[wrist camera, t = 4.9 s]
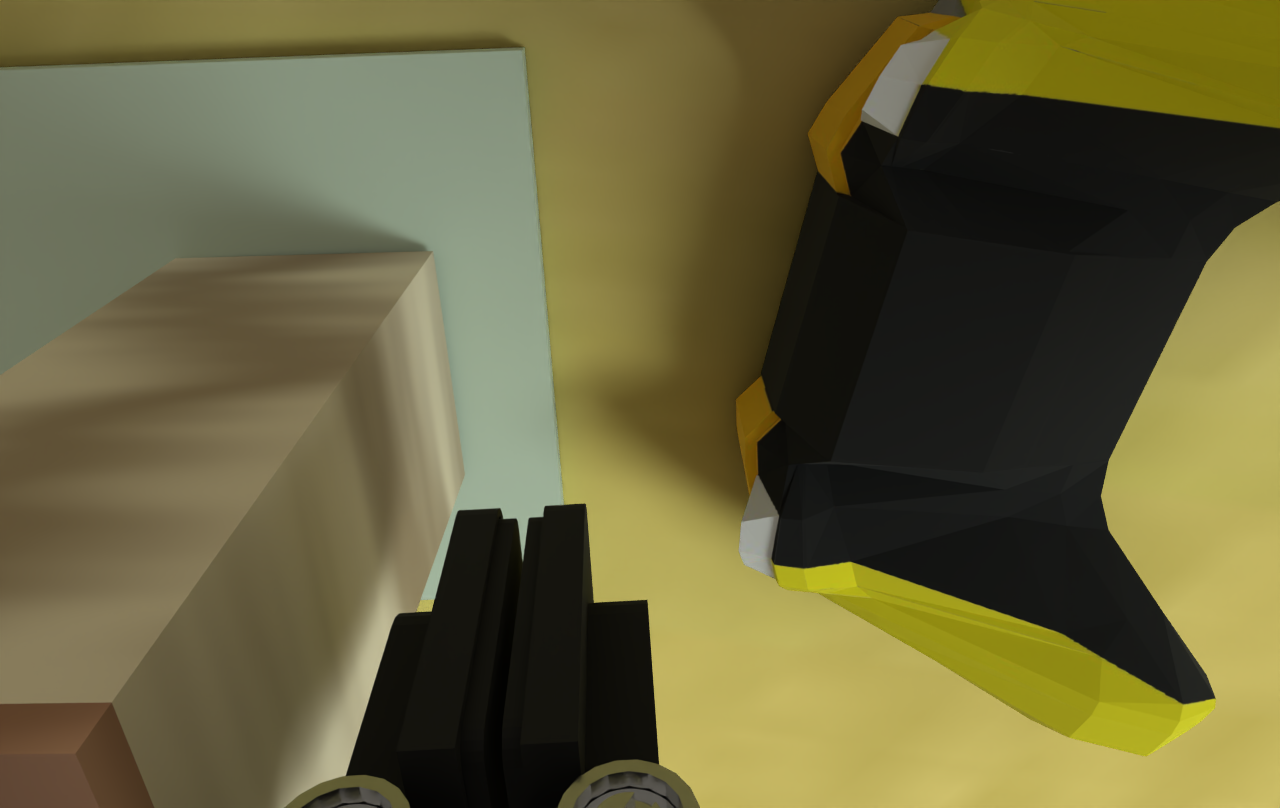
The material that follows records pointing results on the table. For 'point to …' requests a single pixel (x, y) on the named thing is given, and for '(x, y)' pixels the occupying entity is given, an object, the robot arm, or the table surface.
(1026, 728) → the table surface
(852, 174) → the gaming controller
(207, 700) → the birch pillar
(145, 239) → the sage mat
